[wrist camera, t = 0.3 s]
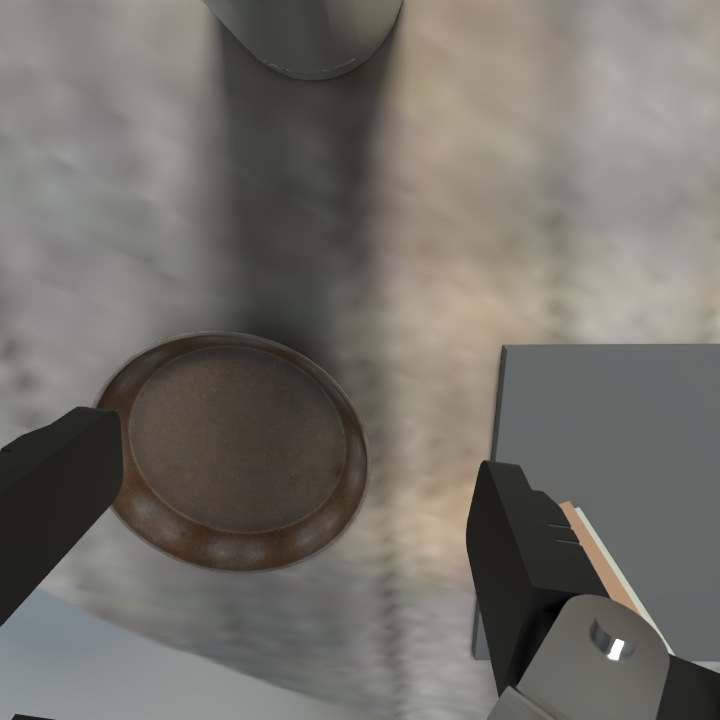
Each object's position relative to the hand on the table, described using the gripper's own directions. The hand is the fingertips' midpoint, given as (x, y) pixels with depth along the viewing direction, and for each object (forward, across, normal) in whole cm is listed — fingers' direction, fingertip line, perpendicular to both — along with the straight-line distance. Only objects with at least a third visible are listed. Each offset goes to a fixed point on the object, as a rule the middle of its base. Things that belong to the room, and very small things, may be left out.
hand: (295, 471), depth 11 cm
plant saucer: (+20, +7, +11) cm, 23 cm away
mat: (+20, -23, +13) cm, 33 cm away
